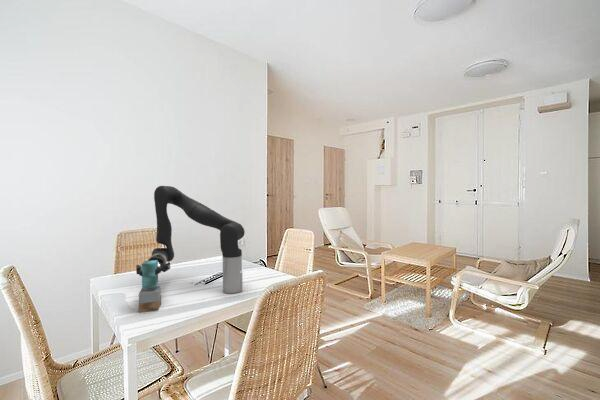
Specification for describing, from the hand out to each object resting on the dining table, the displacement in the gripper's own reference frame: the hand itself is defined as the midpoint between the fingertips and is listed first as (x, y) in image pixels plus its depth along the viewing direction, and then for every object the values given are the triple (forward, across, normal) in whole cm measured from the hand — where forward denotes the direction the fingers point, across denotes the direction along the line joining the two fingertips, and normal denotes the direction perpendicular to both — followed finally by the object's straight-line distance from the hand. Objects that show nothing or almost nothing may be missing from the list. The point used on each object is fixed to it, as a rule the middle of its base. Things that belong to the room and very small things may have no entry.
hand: (148, 273), depth 113 cm
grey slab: (-2, 0, +12) cm, 12 cm away
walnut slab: (-2, 0, +16) cm, 16 cm away
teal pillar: (-3, 0, +6) cm, 7 cm away
